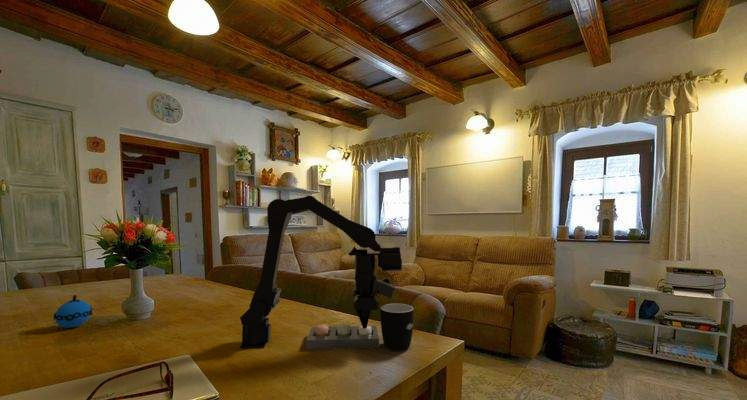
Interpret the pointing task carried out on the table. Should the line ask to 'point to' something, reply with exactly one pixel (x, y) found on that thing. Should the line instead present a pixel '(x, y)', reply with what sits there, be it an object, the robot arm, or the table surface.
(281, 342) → the table surface
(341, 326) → the egg sage
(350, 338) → the grey holder
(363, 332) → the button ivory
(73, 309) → the ornament
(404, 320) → the mug
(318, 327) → the salmon pink rounded lump
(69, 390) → the table surface
